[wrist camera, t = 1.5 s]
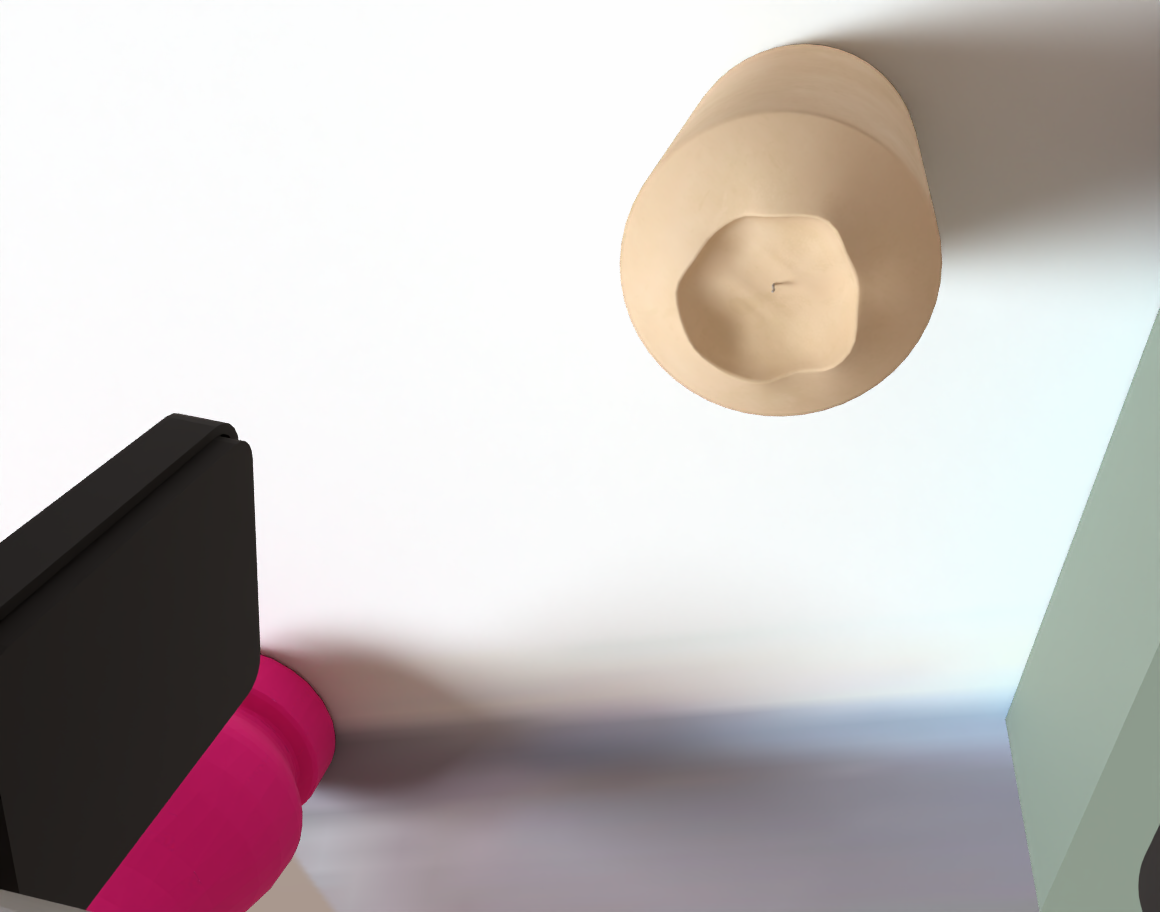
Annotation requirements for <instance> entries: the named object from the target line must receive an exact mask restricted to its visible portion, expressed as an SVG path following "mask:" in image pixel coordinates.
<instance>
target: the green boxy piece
mask: <svg viewBox="0 0 1160 912" xmlns="http://www.w3.org/2000/svg"><path fill="white" fill-rule="evenodd" d="M1006 726H1007V731H1008V737H1009V743H1010V748H1011V754H1012V760H1013V765H1014V771H1015V776H1016V782H1017V788H1018V793H1019V799H1020V805H1021V810H1022V816H1023V821H1024V827H1025V833H1026V838H1027V844H1028V850H1029V855H1030V861H1031V866H1032V872H1033V878H1034V883H1035V889H1036V895H1037V900H1038V906H1039V911H1040V912H1142V908H1141V905H1140V900H1139V891H1138V882H1139V873H1140V868H1141V864H1142V861H1143V858H1144V856H1145V854H1146V852H1147V850H1148V848H1149V846H1150V844H1151V841H1152V839H1153V837H1154V835H1155V833H1156V831H1157V829H1158V827H1159V825H1160V309H1159V311H1158V314H1157V317H1156V319H1155V322H1154V325H1153V327H1152V330H1151V333H1150V335H1149V338H1148V341H1147V343H1146V346H1145V349H1144V351H1143V354H1142V357H1141V359H1140V362H1139V365H1138V367H1137V370H1136V373H1135V375H1134V378H1133V381H1132V383H1131V386H1130V389H1129V391H1128V394H1127V397H1126V399H1125V402H1124V405H1123V407H1122V410H1121V413H1120V415H1119V418H1118V421H1117V423H1116V426H1115V429H1114V431H1113V434H1112V437H1111V439H1110V442H1109V445H1108V447H1107V450H1106V453H1105V455H1104V458H1103V461H1102V464H1101V466H1100V469H1099V472H1098V474H1097V477H1096V480H1095V482H1094V485H1093V488H1092V490H1091V493H1090V496H1089V498H1088V501H1087V504H1086V506H1085V509H1084V512H1083V514H1082V517H1081V520H1080V522H1079V525H1078V528H1077V530H1076V533H1075V536H1074V538H1073V541H1072V544H1071V546H1070V549H1069V552H1068V554H1067V557H1066V560H1065V562H1064V565H1063V568H1062V570H1061V573H1060V576H1059V578H1058V581H1057V584H1056V586H1055V589H1054V592H1053V594H1052V597H1051V600H1050V602H1049V605H1048V608H1047V610H1046V613H1045V616H1044V618H1043V621H1042V624H1041V626H1040V629H1039V632H1038V634H1037V637H1036V640H1035V642H1034V645H1033V648H1032V650H1031V653H1030V656H1029V658H1028V661H1027V664H1026V666H1025V669H1024V672H1023V674H1022V677H1021V680H1020V682H1019V685H1018V688H1017V690H1016V693H1015V696H1014V698H1013V701H1012V704H1011V706H1010V709H1009V712H1008V714H1007V717H1006Z"/></svg>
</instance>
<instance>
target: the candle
mask: <svg viewBox="0 0 1160 912" xmlns="http://www.w3.org/2000/svg"><path fill="white" fill-rule="evenodd" d="M941 269H942V254H941V240H940V235H939V231H938V226H937V221H936V216H935V212H934V208H933V203H932V199H931V195H930V191H929V186H928V182H927V178H926V173H925V169H924V165H923V161H922V156H921V152H920V148H919V144H918V139H917V135H916V131H915V128H914V125H913V123H912V120H911V117H910V114H909V112H908V109H907V107H906V105H905V104H904V102H903V100H902V98H901V96H900V95H899V93H898V92H897V91H896V89H895V88H894V87H893V85H892V84H891V83H890V82H889V81H888V80H887V79H886V78H885V77H884V76H883V75H882V74H881V73H880V72H879V71H878V70H877V69H875V68H874V67H873V66H871V65H870V64H869V63H867V62H866V61H864V60H862V59H860V58H858V57H857V56H855V55H853V54H850V53H848V52H845V51H842V50H840V49H836V48H832V47H828V46H823V45H812V44H797V45H787V46H782V47H776V48H773V49H770V50H767V51H763V52H760V53H758V54H756V55H754V56H752V57H750V58H748V59H746V60H744V61H742V62H741V63H739V64H738V65H736V66H735V67H733V68H732V69H730V70H729V71H728V72H727V73H726V74H725V75H723V76H722V77H721V78H720V79H719V80H718V81H717V82H716V83H715V84H714V85H713V86H712V88H711V89H710V90H709V91H708V92H707V93H706V94H705V96H704V97H703V98H702V100H701V101H700V103H699V104H698V106H697V107H696V108H695V110H694V111H693V113H692V114H691V116H690V117H689V119H688V120H687V122H686V123H685V124H684V126H683V127H682V129H681V130H680V132H679V133H678V135H677V136H676V138H675V139H674V141H673V142H672V143H671V145H670V146H669V148H668V149H667V151H666V152H665V154H664V155H663V157H662V158H661V160H660V161H659V162H658V164H657V165H656V167H655V168H654V170H653V171H652V173H651V174H650V176H649V177H648V179H647V180H646V182H645V183H644V185H643V186H642V188H641V190H640V192H639V194H638V195H637V197H636V199H635V201H634V203H633V205H632V208H631V211H630V213H629V216H628V219H627V222H626V225H625V229H624V234H623V239H622V243H621V256H620V273H621V285H622V290H623V296H624V301H625V304H626V307H627V310H628V313H629V316H630V319H631V321H632V324H633V326H634V328H635V330H636V332H637V334H638V336H639V338H640V339H641V341H642V342H643V344H644V345H645V347H646V348H647V350H648V352H649V353H650V354H651V355H652V357H653V358H654V359H655V360H656V361H657V362H658V364H659V365H660V366H661V367H662V368H663V369H664V370H665V371H666V372H667V373H668V374H669V375H671V376H672V377H673V378H674V379H675V380H676V381H677V382H679V383H680V384H682V385H683V386H684V387H686V388H687V389H689V390H690V391H691V392H693V393H695V394H697V395H699V396H701V397H702V398H704V399H706V400H708V401H710V402H713V403H715V404H718V405H720V406H723V407H725V408H729V409H732V410H736V411H740V412H743V413H749V414H756V415H763V416H793V415H804V414H809V413H814V412H818V411H823V410H826V409H829V408H832V407H835V406H838V405H841V404H844V403H846V402H848V401H850V400H852V399H854V398H856V397H858V396H860V395H862V394H864V393H865V392H867V391H868V390H870V389H871V388H873V387H875V386H876V385H878V384H879V383H880V382H881V381H883V380H884V379H885V378H886V377H887V376H889V375H890V374H891V373H892V372H893V371H894V370H895V369H896V368H897V367H898V366H899V365H900V364H901V363H902V362H903V361H904V360H905V359H906V357H907V356H908V355H909V354H910V352H911V351H912V349H913V348H914V347H915V345H916V344H917V342H918V341H919V339H920V338H921V336H922V334H923V332H924V330H925V328H926V326H927V325H928V323H929V320H930V317H931V315H932V312H933V309H934V307H935V304H936V300H937V296H938V291H939V287H940V281H941Z"/></svg>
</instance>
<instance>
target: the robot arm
mask: <svg viewBox="0 0 1160 912" xmlns="http://www.w3.org/2000/svg"><path fill="white" fill-rule="evenodd" d="M259 666H260V632H259V607H258V581H257V556H256V531H255V506H254V480H253V457H252V450H251V448H250V446H249V444H248V443H247V442H246V441H241V440H238V435H237V433H236V431H235V428H234V427H233V426H232V425H230V424H229V423H224V422H219V421H214V420H209V419H204V418H199V417H194V416H188V415H183V414H176V413H173V414H171V415H169V416H167V417H165V418H164V419H163V420H161V421H160V422H159V423H157V424H156V425H155V426H153V427H152V428H151V429H150V430H148V431H147V432H146V433H144V434H143V435H142V436H140V437H139V438H138V439H136V440H135V441H134V442H132V443H131V444H130V445H128V446H127V447H126V448H124V449H123V450H122V451H120V452H119V453H118V454H117V455H115V456H114V457H113V458H111V459H110V460H109V461H107V462H106V463H105V464H103V465H102V466H101V467H99V468H98V469H97V470H95V471H94V472H93V473H91V474H90V475H89V476H88V477H86V478H85V479H84V480H82V481H81V482H80V483H78V484H77V485H76V486H74V487H73V488H72V489H70V490H69V491H68V492H66V493H65V494H64V495H62V496H61V497H60V498H59V499H57V500H56V501H55V502H53V503H52V504H51V505H49V506H48V507H47V508H45V509H44V510H43V511H41V512H40V513H39V514H37V515H36V516H35V517H33V518H32V519H31V520H30V521H28V522H27V523H26V524H24V525H23V526H22V527H20V528H19V529H18V530H16V531H15V532H14V533H12V534H11V535H10V536H8V537H7V538H6V539H4V540H3V541H2V542H1V543H0V912H91V911H87V910H86V909H87V908H88V906H89V905H90V904H91V902H92V901H93V900H94V898H95V897H96V896H97V894H98V893H99V892H100V890H101V889H102V888H103V886H104V885H105V884H106V883H107V881H108V880H109V879H110V877H111V876H112V875H113V873H114V872H115V871H116V869H117V868H118V867H119V865H120V864H121V863H122V861H123V860H124V859H125V857H126V856H127V855H128V853H129V852H130V851H131V849H132V848H133V847H134V845H135V844H136V843H137V841H138V840H139V839H140V837H141V836H142V835H143V833H144V832H145V831H146V829H147V828H148V827H149V826H150V824H151V823H152V822H153V820H154V819H155V818H156V816H157V815H158V814H159V812H160V811H161V810H162V808H163V807H164V806H165V804H166V803H167V802H168V800H169V799H170V798H171V796H172V795H173V794H174V792H175V791H176V790H177V788H178V787H179V786H180V784H181V783H182V782H183V780H184V779H185V778H186V776H187V775H188V774H189V773H190V771H191V770H192V769H193V767H194V766H195V765H196V763H197V762H198V761H199V759H200V758H201V757H202V755H203V754H204V753H205V751H206V750H207V749H208V747H209V746H210V745H211V743H212V742H213V741H214V739H215V738H216V737H217V735H218V734H219V733H220V731H221V730H222V729H223V727H224V726H225V725H226V723H227V722H228V721H229V719H230V718H231V717H232V716H233V714H234V713H235V712H236V710H237V709H238V708H239V706H240V705H241V704H242V702H243V701H244V700H245V698H246V697H247V696H248V694H249V693H250V691H251V689H252V687H253V685H254V683H255V681H256V678H257V674H258V671H259ZM1138 891H1139V900H1140V905H1141V908H1142V912H1160V825H1159V827H1158V829H1157V831H1156V833H1155V835H1154V837H1153V839H1152V841H1151V844H1150V846H1149V848H1148V850H1147V852H1146V854H1145V856H1144V858H1143V861H1142V864H1141V868H1140V873H1139V882H1138Z"/></svg>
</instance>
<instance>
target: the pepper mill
mask: <svg viewBox="0 0 1160 912" xmlns="http://www.w3.org/2000/svg"><path fill="white" fill-rule="evenodd" d="M334 751H335V731H334V727H333V722H332V719H331V717H330V715H329V713H328V711H327V709H326V707H325V705H324V703H323V701H322V699H321V698H320V697H319V696H318V695H317V693H316V692H315V691H314V690H313V689H312V687H311V686H310V685H309V684H308V683H307V682H306V681H305V680H304V679H302V678H301V677H300V676H299V675H297V674H296V673H295V672H294V671H292V670H291V669H289V668H288V667H286V666H284V665H282V664H281V663H279V662H277V661H275V660H274V659H272V658H269V657H266V656H263V655H260V666H259V671H258V674H257V678H256V681H255V683H254V685H253V687H252V689H251V691H250V693H249V694H248V696H247V697H246V698H245V700H244V701H243V702H242V704H241V705H240V706H239V708H238V709H237V710H236V712H235V713H234V714H233V716H232V717H231V718H230V719H229V721H228V722H227V723H226V725H225V726H224V727H223V729H222V730H221V731H220V733H219V734H218V735H217V737H216V738H215V739H214V741H213V742H212V743H211V745H210V746H209V747H208V749H207V750H206V751H205V753H204V754H203V755H202V757H201V758H200V759H199V761H198V762H197V763H196V765H195V766H194V767H193V769H192V770H191V771H190V773H189V774H188V775H187V776H186V778H185V779H184V780H183V782H182V783H181V784H180V786H179V787H178V788H177V790H176V791H175V792H174V794H173V795H172V796H171V798H170V799H169V800H168V802H167V803H166V804H165V806H164V807H163V808H162V810H161V811H160V812H159V814H158V815H157V816H156V818H155V819H154V820H153V822H152V823H151V824H150V826H149V827H148V828H147V829H146V831H145V832H144V833H143V835H142V836H141V837H140V839H139V840H138V841H137V843H136V844H135V845H134V847H133V848H132V849H131V851H130V852H129V853H128V855H127V856H126V857H125V859H124V860H123V861H122V863H121V864H120V865H119V867H118V868H117V869H116V871H115V872H114V873H113V875H112V876H111V877H110V879H109V880H108V881H107V883H106V884H105V885H104V886H103V888H102V889H101V890H100V892H99V893H98V894H97V896H96V897H95V898H94V900H93V901H92V902H91V904H90V905H89V906H88V908H87V909H86V910H87V911H91V912H246V911H247V910H248V909H249V908H250V907H251V906H252V905H253V904H255V902H257V901H258V900H259V899H260V898H261V897H262V896H263V895H264V894H265V893H266V892H267V891H268V890H269V889H270V888H271V887H272V886H273V884H274V883H275V881H276V880H277V879H278V877H279V876H280V874H281V873H282V872H283V870H284V869H285V868H286V866H287V865H288V863H289V862H290V861H291V859H292V857H293V855H294V853H295V851H296V849H297V846H298V844H299V841H300V836H301V830H302V805H303V804H304V803H306V801H307V800H308V799H309V798H310V797H311V796H312V794H313V792H314V790H315V789H316V787H317V785H318V784H319V782H320V780H321V779H322V777H323V775H324V773H325V772H326V770H327V768H328V767H329V765H330V763H331V761H332V759H333V755H334Z"/></svg>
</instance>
